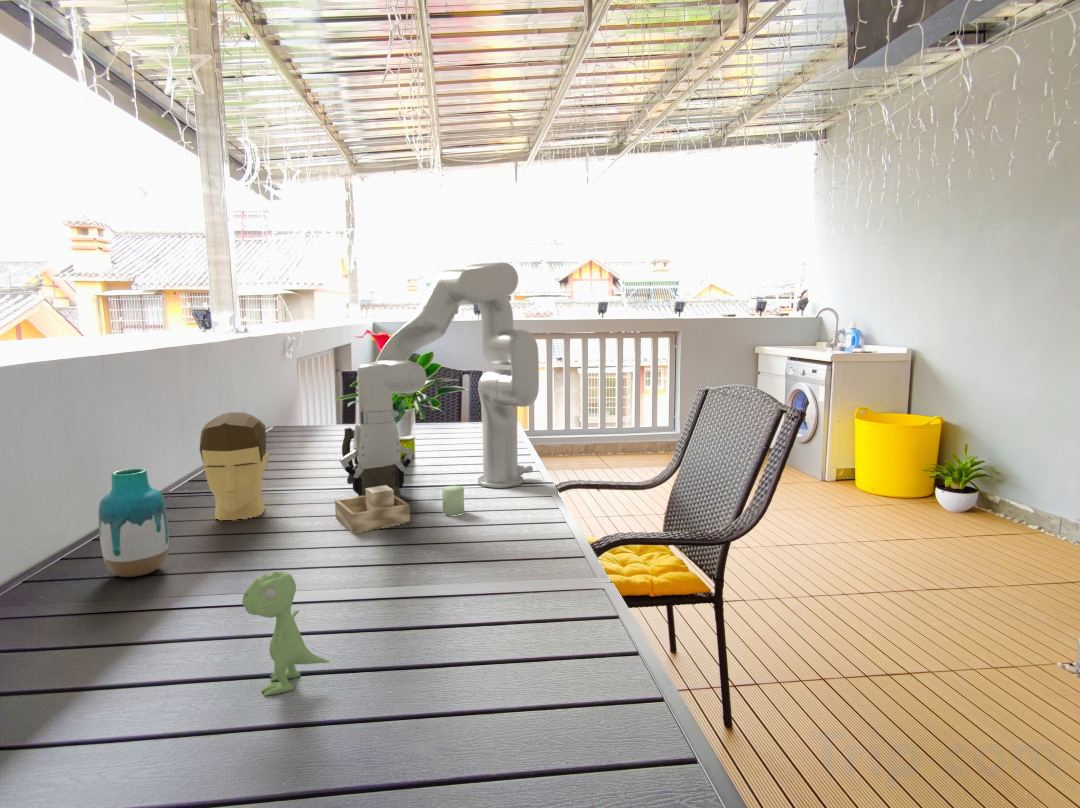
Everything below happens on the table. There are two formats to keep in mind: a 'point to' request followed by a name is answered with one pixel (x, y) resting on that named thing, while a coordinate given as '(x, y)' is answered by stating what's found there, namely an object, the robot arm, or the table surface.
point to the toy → (280, 627)
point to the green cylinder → (453, 500)
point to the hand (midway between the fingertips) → (379, 490)
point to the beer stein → (370, 470)
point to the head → (235, 464)
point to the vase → (133, 525)
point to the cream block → (379, 497)
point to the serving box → (370, 514)
